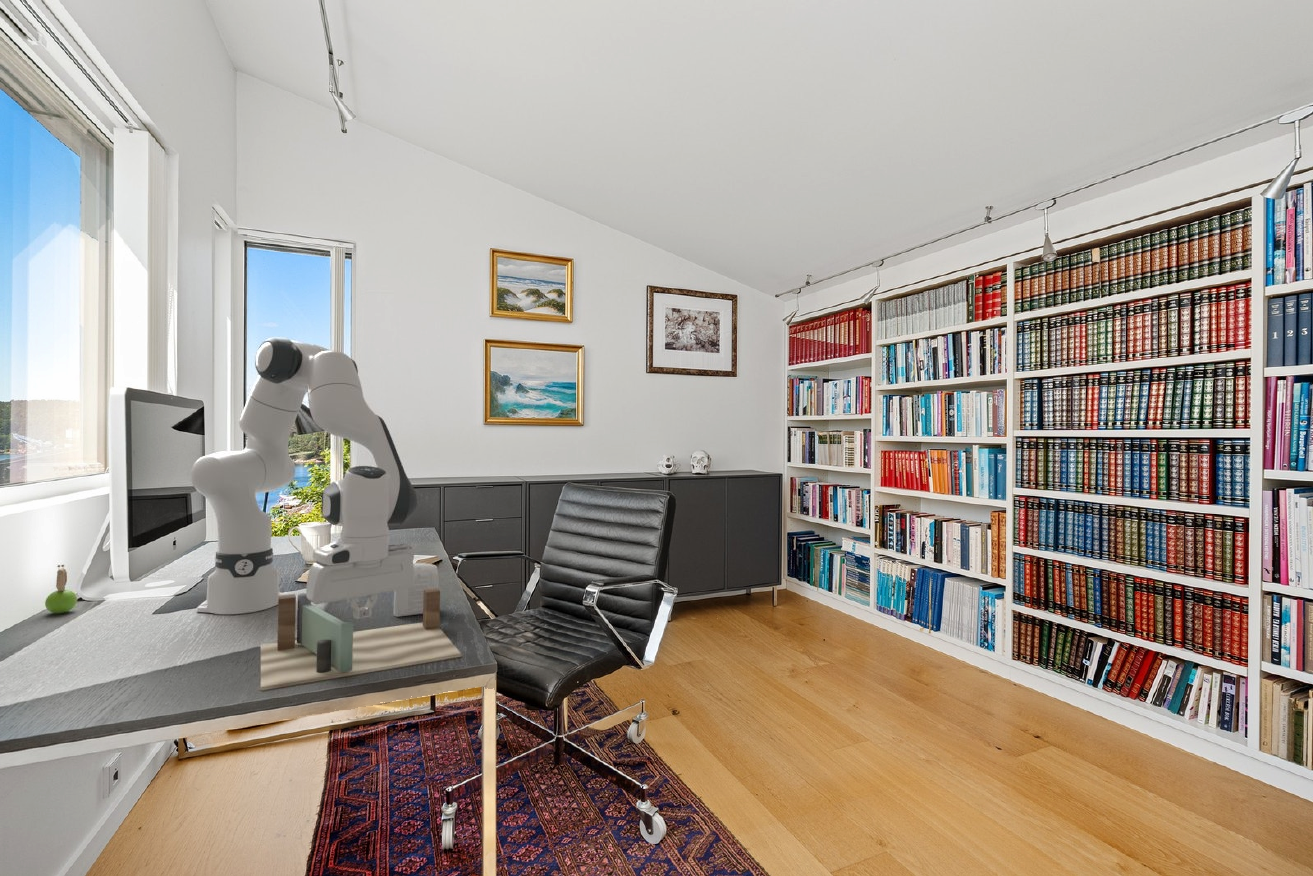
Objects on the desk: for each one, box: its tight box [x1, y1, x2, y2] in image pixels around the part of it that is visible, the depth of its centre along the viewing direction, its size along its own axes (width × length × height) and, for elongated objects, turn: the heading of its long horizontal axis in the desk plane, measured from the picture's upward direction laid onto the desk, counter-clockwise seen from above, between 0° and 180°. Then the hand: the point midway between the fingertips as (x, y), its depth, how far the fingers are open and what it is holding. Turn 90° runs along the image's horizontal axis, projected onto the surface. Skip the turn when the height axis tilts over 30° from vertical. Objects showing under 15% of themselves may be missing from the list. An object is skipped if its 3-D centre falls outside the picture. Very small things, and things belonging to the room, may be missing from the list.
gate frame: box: [260, 587, 462, 691], centre depth 128 cm, size 24×34×11 cm
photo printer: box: [393, 562, 439, 618], centre depth 155 cm, size 10×4×12 cm, turn 123°
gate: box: [296, 592, 354, 672], centre depth 122 cm, size 23×2×10 cm, turn 49°
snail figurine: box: [44, 564, 78, 614], centre depth 146 cm, size 5×6×12 cm
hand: (362, 617), depth 125 cm, fingers closed
